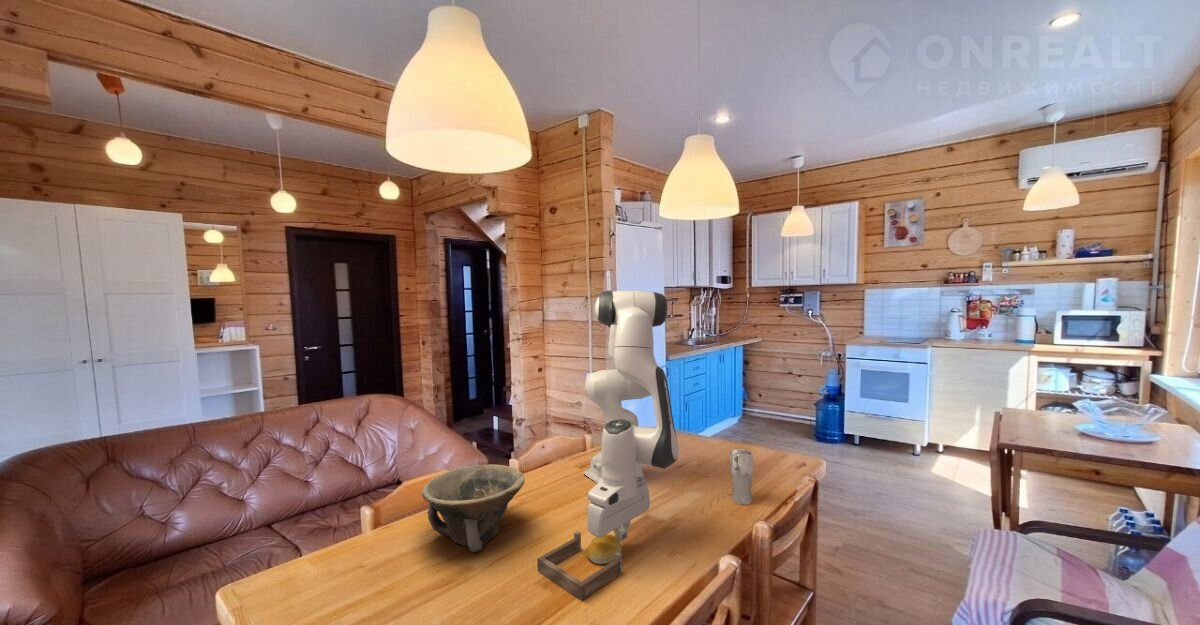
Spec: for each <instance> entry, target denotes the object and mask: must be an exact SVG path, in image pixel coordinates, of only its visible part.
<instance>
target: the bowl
mask: <svg viewBox="0 0 1200 625" xmlns="http://www.w3.org/2000/svg"><path fill="white" fill-rule="evenodd" d="M525 479H526V478H525V475H524V473H522V472H521V471H520V470H518V469H516V468H514V467H512V466H508V465H503V464H476V465H469V466H464V467H459V468H455V469H452V470H448V471H446V472H443V473H442V474H440V475H438V476H436V477H434V478H432V479H430V480H429V481H428V482H427V483H426V484H425V485H424V486H423V488H422V491H421V496H422V498H423V499H424V500H425V502H428V503H429V506H428V509H427V510H428V511H427V517H428V518H427V520H428V521H429V523H430V525H431V527H432V529H433V530H434V531H435V532H436V533H438V534H439V535H442V536H445V537H449V538H450V539H451V541H452V543H455V544H457V543H458V544H457V545H460V544H461V545H460V546H465V545H468V546H467V547H468V549H469V551H470V552H472V553H475V552H479V551H481V550H482V549H483V546H484V545H485V544H487V543H488V542H489V540H490V541H492V540H493V539H494V538H495V537H496V535H498V533H499V531H500V523H501V520H502V518H503V516H505V513H506V511H507V509H508V505H509V502H511V501H512V499H513V498H514V497H515V495H517V494H518V492H519V491H520V490H521V489H522V487H523V486H524V484H525ZM439 514H440V516H441V517H442V519H443V520H442V519H441V518H440V516H439ZM492 538H493V539H492ZM486 542H487V543H486Z"/></svg>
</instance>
